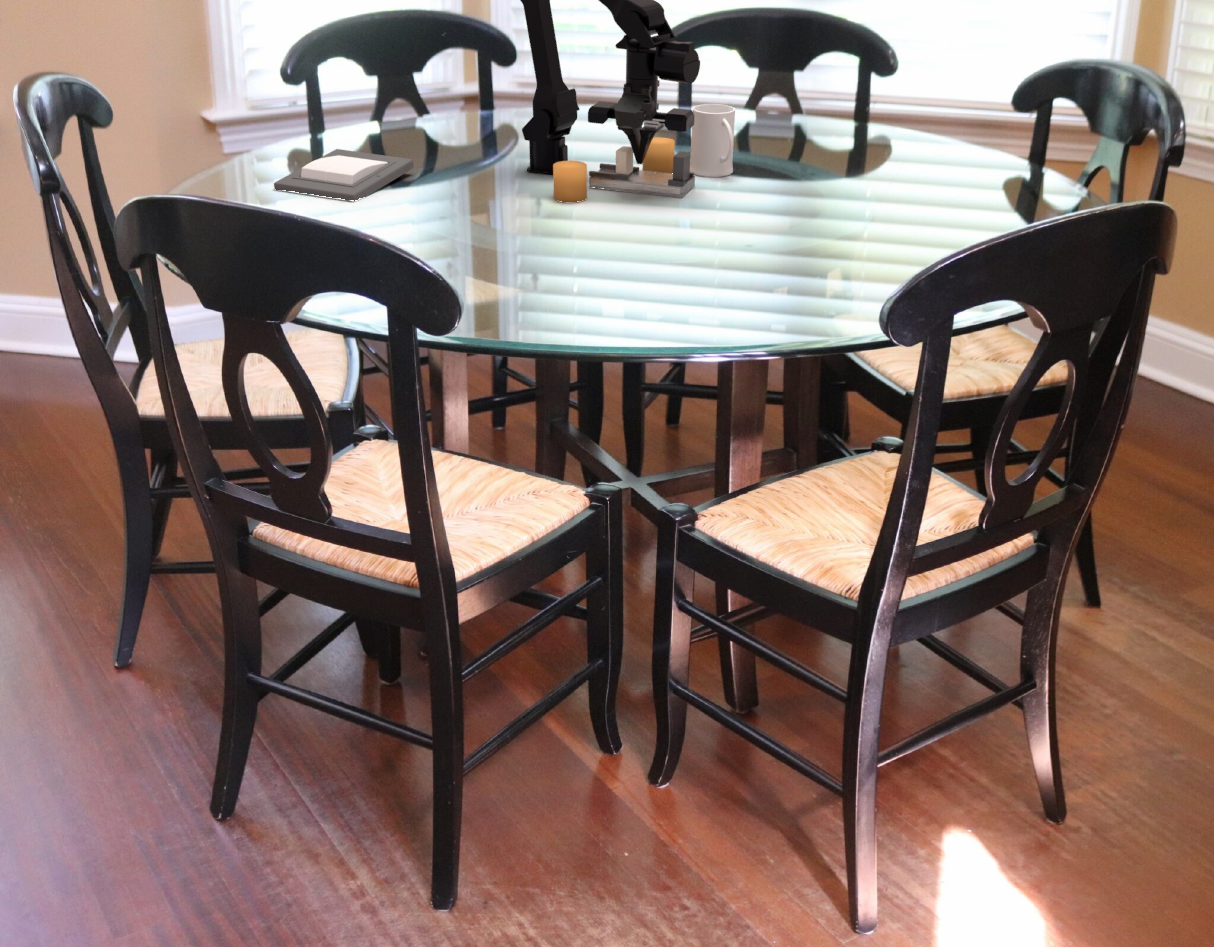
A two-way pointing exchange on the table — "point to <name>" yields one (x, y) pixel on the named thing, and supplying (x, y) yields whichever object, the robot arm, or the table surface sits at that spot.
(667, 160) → the orange short rounded piece
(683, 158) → the toggle black
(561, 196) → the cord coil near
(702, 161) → the mug
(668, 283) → the table surface
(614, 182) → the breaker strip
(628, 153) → the beige cardboard box
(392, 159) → the light switch
